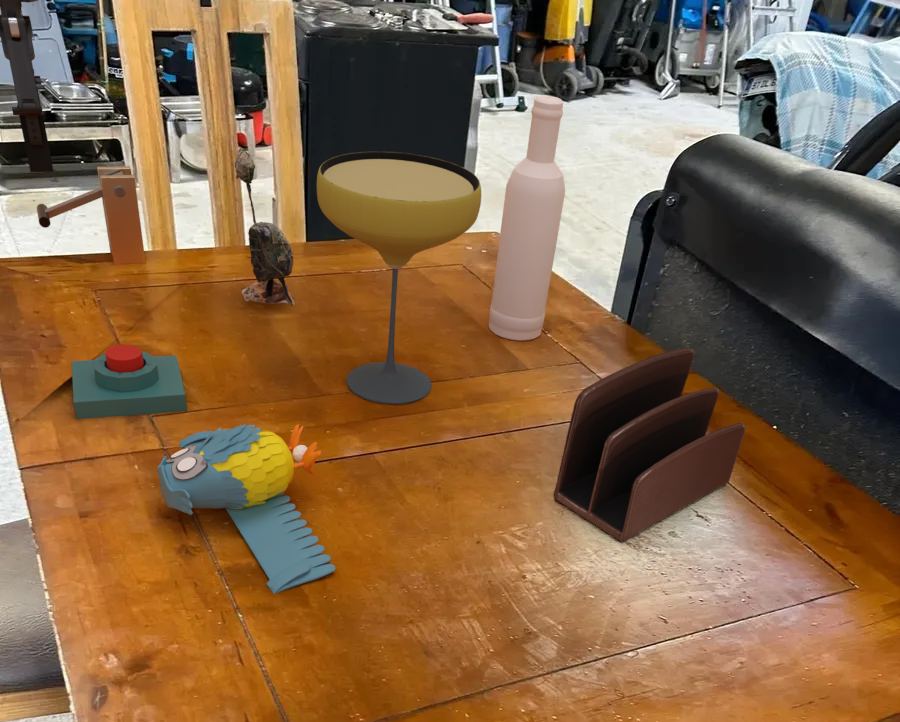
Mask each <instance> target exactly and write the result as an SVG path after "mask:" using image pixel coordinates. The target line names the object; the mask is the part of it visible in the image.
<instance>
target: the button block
mask: <svg viewBox="0 0 900 722" xmlns="http://www.w3.org/2000/svg"><path fill="white" fill-rule="evenodd" d="M142 355H143V362H144V367H143V368H142V369H140V370H137V371H134V372H125V373H119V372H114V371H110V370H109V369H108V367H107V361H106V356H105V353H102V354H101V355H99V356H97V358H96V359H88V360H85V359H83V360H71V376H72V378H71V379H72V397H73V399H72V400H73V407H74V412H75V416H76V417H75V418H76V419H77V420H85V419H97V418H112V417H125V416H126V417H127V416H139V415H152V414H153V415H154V414H164V413H177V412H178V413H181V412H188V407H187V406H188V405H187V397H186V392H185V387H184V382H183V378H182V374H181V370H180V364H179V361H178V356H177V355H176V354H175V355H173V354H172V355H159V356H158V355H157V356H154V355H152V354H150V353H148V352H147V351H142Z"/></svg>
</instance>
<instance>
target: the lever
mask: <svg viewBox="0 0 900 722" xmlns="http://www.w3.org/2000/svg"><path fill="white" fill-rule="evenodd" d="M113 175H124V174H123V172H122V171H120V172H118V173H115V174H113ZM102 197H103V192H102V187H100V186H99V187H97V188H95V189H92V190H89V191H87V192H85V193H82V194H79V195H77V196H75V197H73V198H70V199H67V200H64V201H63V202H60V203H58V204H55V205H53V206H50V207H48V206H47V205H46V204H44V203H39V204H37V205H36V213H37V218H38V219H37V220H38V224H39V226H40V227H42V228H45V229H46V228H49V227H50V226H51V219H52V218H54V217H57V216H59V215H62V214H64V213H67V212H69V211H72V210H74V209H76V208H79V207H82V206H84V205H87V204H89V203H91V202H94V201H97V200H99V199H102Z"/></svg>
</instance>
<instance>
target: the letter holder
mask: <svg viewBox="0 0 900 722" xmlns="http://www.w3.org/2000/svg"><path fill="white" fill-rule="evenodd" d="M694 359H695V350H694V349H693V348H689V347H684V348H677V349H672V350H668V351H664V352H661V353H657V354H655V355H652V356H649V357H646V358H644V359H642V360H639V361H637V362H634V363H632V364H630V365H628V366H625V367H623V368H621V369H619V370H617V371H615V372H613V373H611V374H609V375H607V376H605V377H603V378H601V379H599V380H597V381H596V382H594V383H592V384H591V385H589V386H586V387H584V389H583V390H582V391H581V392H580V393H578V395H577V396H576V399H575V401H574V404H573V408H572V411H571V412H572V413H571V416H570V420H569V424H568V429H567V432H566V438H565V443H564V448H563V452H562V455H561V461H560V465H559V470H558V475H557V480H556V484H555V487H554V491H553V500H554V501H556V502H558V503H560V504H561V505H563V506H564V507H566V508H568V509H569V510H571V511H572V512H574V513H575V514H577V515H578V516H579V517H582V518H583V519H584V520H586V521H587V522H589V523H591V524H592V525H594V526H595V527H597V528H598V529H600V530H601V531H603V532H604V533H606V534H608V535H609V536H611V537H612V538H614V539H615V540H617V541H618V542H620V543H621V542H622V543H623V542H625V541H627V540H628V539H630V538H633V537H634V536H636V535H638V534H639V533H642V532H643V531H645V530H647V529H648V528H649V527H652V526H653V525H656V524H657V523H659V522H660V521H663V520H664V519H666V518H668V517H670V516H671V515H672V514H675V513H677V512H679V511H680V510H682V509H684V508H686V507H688V506H689V505H691V504H693V503H695V502H696V501H698V500H700V499H701V498H703V497H705V496H707V495H709V494H710V493H712V492H714V491H716V490H718V489H719V488H721V487H723V486H725V485H726V484H728V483H729V482H730V480H731V477H732V473H733V471H734V467H735V464H736V462H737V461H736V460H737V458H738V455H739V451H740V448H741V445H742V442H743V439H744V436H745V433H746V425H745V424H744V423H741V422H737V423H734V424H730V425H727V426H724V427H722V428H719V429H717V430H714V431H712V432H709V433H707V432H708V429H709V426H710V423H711V419H712V417H713V413H714V411H715V407H716V404H717V402H718V399H719V396H720V389H719V388H718V387H707V388H703V389H699V390H695V391H691V392H689V393H686V394H683V392H684V389H685V387H686V386H685V385H686V383H687V380H688V377H689V374H690V372H691V368H692V366H693V362H694Z"/></svg>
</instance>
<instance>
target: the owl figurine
mask: <svg viewBox="0 0 900 722" xmlns="http://www.w3.org/2000/svg"><path fill="white" fill-rule="evenodd" d="M303 431H304V425H302V426H300V423H297V424H296V425H295V426H294V427H293V430H292V431H291V434H290V438H289V444H288V445H287V444H286V442H285V440H284V439H283V438H282V437H281V436H279V435H278V434H276V433H274V432H273V431H269V430H267V429H262V428H260V427H255V424H249V425H248V424H247V423H245V424H240V425H237V426H235V427H234V428H226V429H223V427H219V428H218V429H216V430H203V431H199V432H195V433H192V434H191V435H188V436H186V437H185V438H183V439H181V440H180V441H179V442H178V444H179V447H180V450H179V451H176V452H175V453H173V454H172V455H170V456H169V459H168V457H167V456H166V455H164V456H163V458H162V460H161V462H160V463H159V464H158V466H157V469H156V470H157V475H158V481H159V486H160V487H159V488H160V492H161V496H162V498H163V501H164V502H165V503H164V504H166V507H167V508H169V509H174V510H178V511H180V512H183V513H185V514H188V515H189V516H192V515H194V512H193V511H192V509H212V510H213V509H215V510H217V509H218V510H219V509H225V511H226V512H227V513H228V516H229V517H230V518H231V520H232V521H233V523H234V524H235V526H236V528H237V530H238V531H239V533H240V534H241V536H242V538H243V540H244V541H245V542H246V544H247V545H248V547H249V549H250V551H251V552H252V554H253V555H254V557H255V559H256V560H257V562H258V564H259V565H260V568H261V569H262V570H263V572H264V573H265V575H266V576H267V577H266V578H268V581H267V582H266V586H267V587H268V589H269V590H270V591H271V593H273V594H278V593H281V592H283V591H286V590H288V589H292V588H294V587H298V586H301V585H302V584H305V583H308V582H313V581H315V580H319V579H320V578H324V577H326V576H328V575H331V574H332V573H334V572H335V570H336V565H334V564H333V563H329V562H330V561H331V559H332V558H331V556H330V555H329V554H327V553H326V554H324V552H325V546H324V545H322V544H317V543H318V542H319V537H318V536H317V535H312V534H313V528H311V527H306V526H307V522H308V521H306V520H305V519H303V518H301V516H302V513H301V512H300V510H299V511H298V510H295V509H296V505H295V504H294V503H290V501H291V496H289V495H285V492H286V491H287V488H288V487H289V484H290V483H291V482H292V480H293V478H294V474H295V469H296V468H300V467H303V469H304V471H306V472H307V473H309V474H312V475H314V474H315V472H314V468H313V465H314V464H316V461H317V460H318V458H320V456H321V455H322V453H323V452H322V451H323V450H321V449H319V450H316V451H315V449H316V447H317V445H318V442H317V441H314V442H312V443H311V444H310V445H309V446H308V447H307V446H306V445H304V444H301V437H302V434H303ZM294 461H296V462H294ZM299 518H300V519H299Z"/></svg>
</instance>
